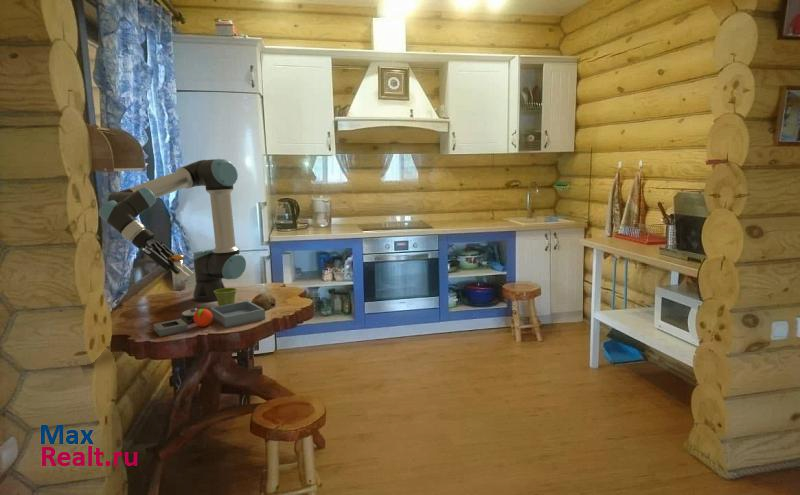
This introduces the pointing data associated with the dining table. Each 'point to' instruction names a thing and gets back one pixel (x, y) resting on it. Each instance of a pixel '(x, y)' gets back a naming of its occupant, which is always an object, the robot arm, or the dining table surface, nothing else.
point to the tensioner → (175, 324)
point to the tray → (237, 313)
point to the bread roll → (264, 301)
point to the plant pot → (225, 296)
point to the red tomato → (203, 317)
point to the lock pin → (177, 281)
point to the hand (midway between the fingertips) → (188, 276)
